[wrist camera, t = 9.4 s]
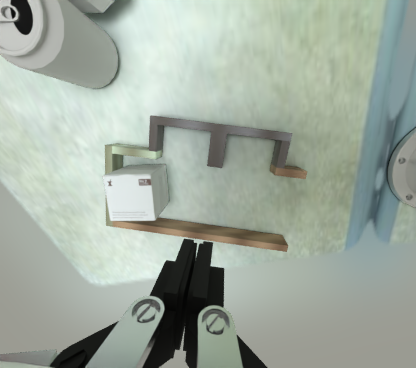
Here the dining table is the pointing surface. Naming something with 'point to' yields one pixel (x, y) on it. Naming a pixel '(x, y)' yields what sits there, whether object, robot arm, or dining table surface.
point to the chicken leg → (91, 5)
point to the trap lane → (214, 160)
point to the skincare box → (136, 192)
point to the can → (56, 42)
